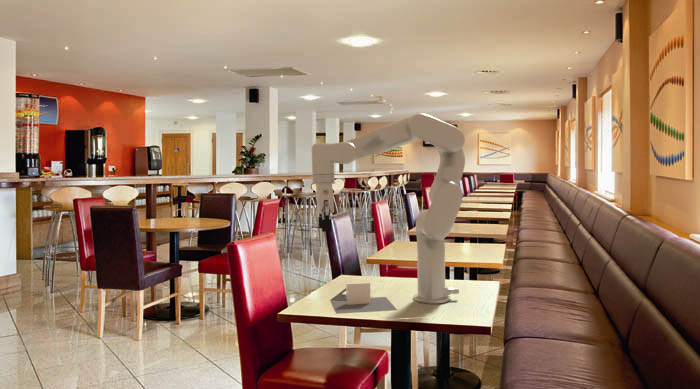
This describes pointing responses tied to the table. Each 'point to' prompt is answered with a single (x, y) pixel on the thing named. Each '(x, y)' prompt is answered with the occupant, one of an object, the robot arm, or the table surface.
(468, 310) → the table surface
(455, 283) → the table surface
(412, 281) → the table surface
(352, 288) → the tile
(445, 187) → the robot arm
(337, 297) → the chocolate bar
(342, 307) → the mat
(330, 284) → the table surface
